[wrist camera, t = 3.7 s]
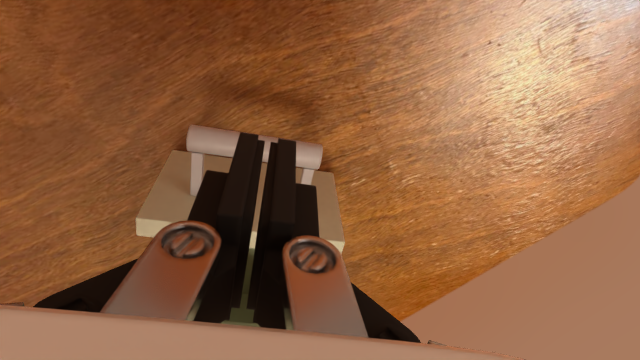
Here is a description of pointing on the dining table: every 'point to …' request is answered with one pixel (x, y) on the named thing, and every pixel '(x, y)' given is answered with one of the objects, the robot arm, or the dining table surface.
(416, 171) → the dining table surface
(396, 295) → the dining table surface
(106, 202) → the dining table surface
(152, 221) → the drawer
